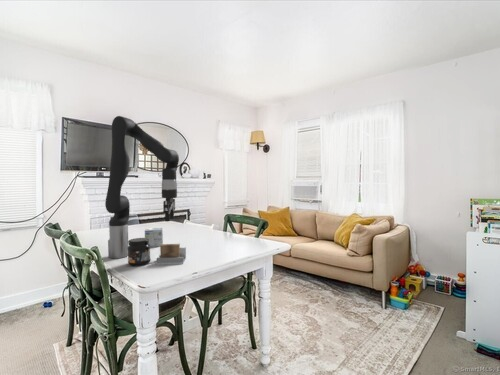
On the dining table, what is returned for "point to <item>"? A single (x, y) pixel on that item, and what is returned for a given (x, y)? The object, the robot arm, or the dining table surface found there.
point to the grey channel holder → (173, 258)
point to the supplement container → (138, 252)
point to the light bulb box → (154, 236)
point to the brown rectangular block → (170, 250)
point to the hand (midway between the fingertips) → (169, 219)
